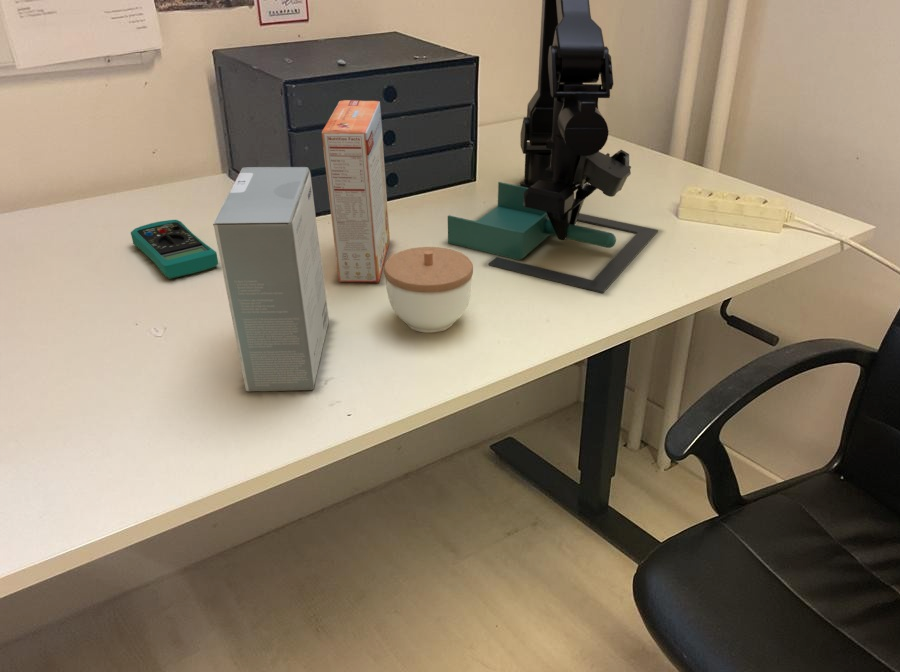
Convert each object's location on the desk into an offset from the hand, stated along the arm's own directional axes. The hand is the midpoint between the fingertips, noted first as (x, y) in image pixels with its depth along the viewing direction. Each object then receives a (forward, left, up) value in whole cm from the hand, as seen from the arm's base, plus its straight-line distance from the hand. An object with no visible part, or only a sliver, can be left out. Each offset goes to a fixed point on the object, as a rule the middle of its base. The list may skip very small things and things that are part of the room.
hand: (564, 236), depth 122 cm
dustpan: (-4, 0, -1) cm, 4 cm away
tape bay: (+2, 0, -1) cm, 3 cm away
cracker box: (-22, -20, -2) cm, 30 cm away
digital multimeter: (-46, -32, -2) cm, 56 cm away
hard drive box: (-15, -45, -2) cm, 48 cm away
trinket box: (-5, -30, -2) cm, 31 cm away
